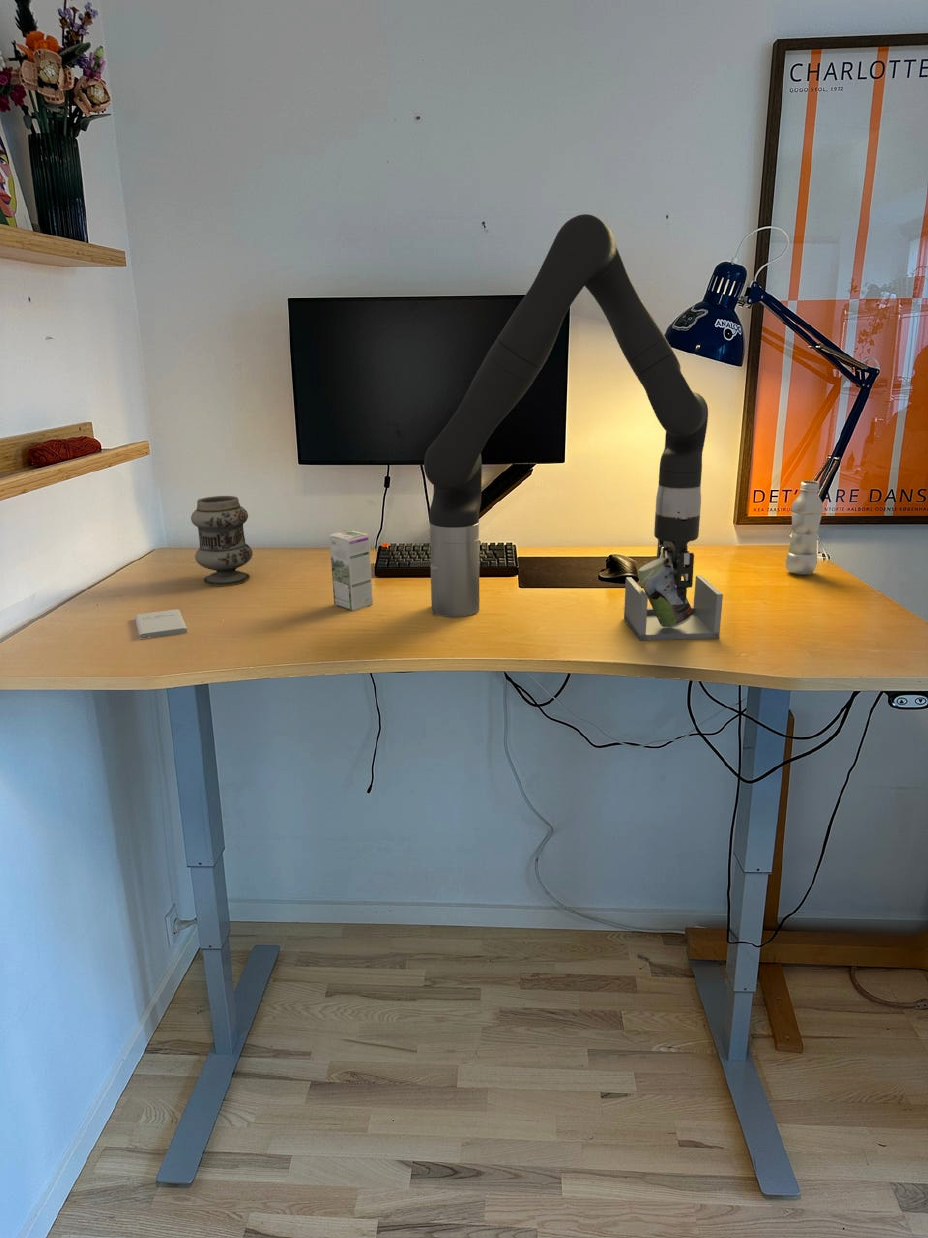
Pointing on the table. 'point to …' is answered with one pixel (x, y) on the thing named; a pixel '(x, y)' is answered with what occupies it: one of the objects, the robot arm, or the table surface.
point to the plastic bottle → (805, 530)
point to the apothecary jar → (222, 539)
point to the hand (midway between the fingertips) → (671, 601)
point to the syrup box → (351, 569)
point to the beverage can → (664, 593)
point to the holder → (697, 627)
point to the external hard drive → (160, 623)
